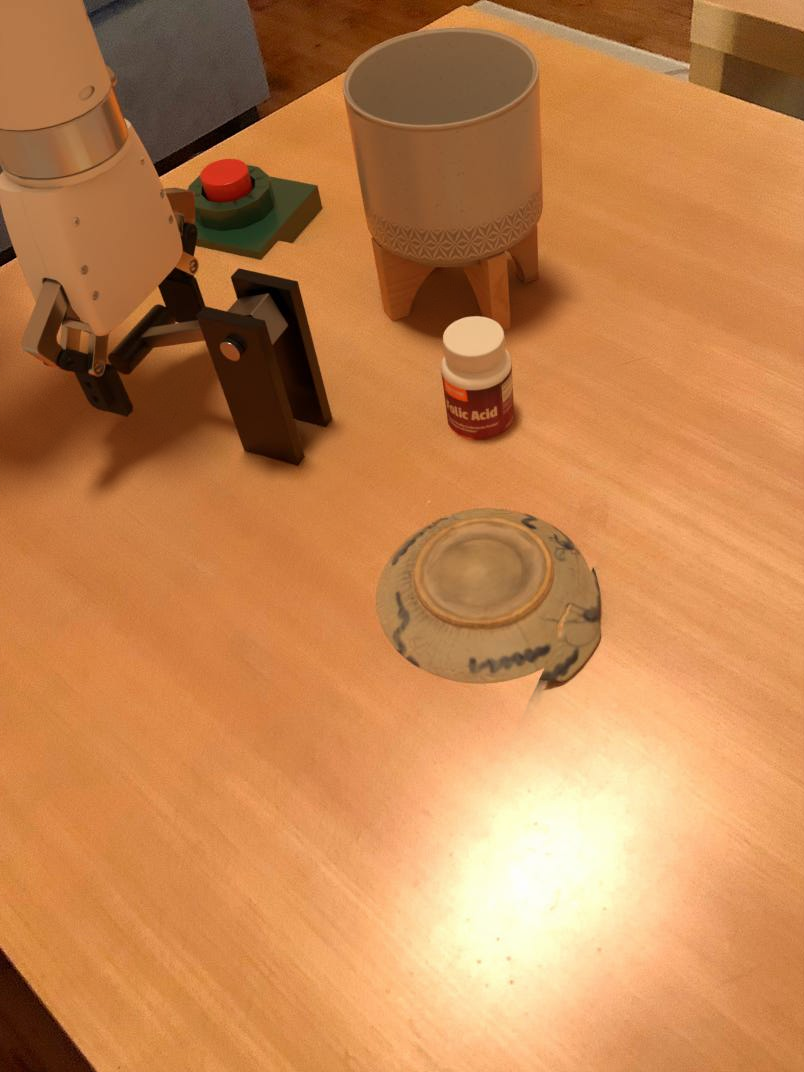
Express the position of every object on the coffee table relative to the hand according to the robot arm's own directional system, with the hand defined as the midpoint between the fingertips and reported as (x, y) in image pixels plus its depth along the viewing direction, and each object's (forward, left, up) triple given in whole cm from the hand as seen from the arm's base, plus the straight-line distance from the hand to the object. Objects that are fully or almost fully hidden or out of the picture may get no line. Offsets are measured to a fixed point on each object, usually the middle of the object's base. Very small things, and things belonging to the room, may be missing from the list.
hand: (153, 364), depth 74 cm
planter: (+18, +16, -5) cm, 25 cm away
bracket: (+10, -2, -5) cm, 11 cm away
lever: (+6, -1, +3) cm, 7 cm away
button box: (-4, +23, -5) cm, 24 cm away
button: (-4, +23, -1) cm, 24 cm away
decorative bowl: (+27, -13, -5) cm, 30 cm away
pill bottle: (+23, +2, -5) cm, 24 cm away
